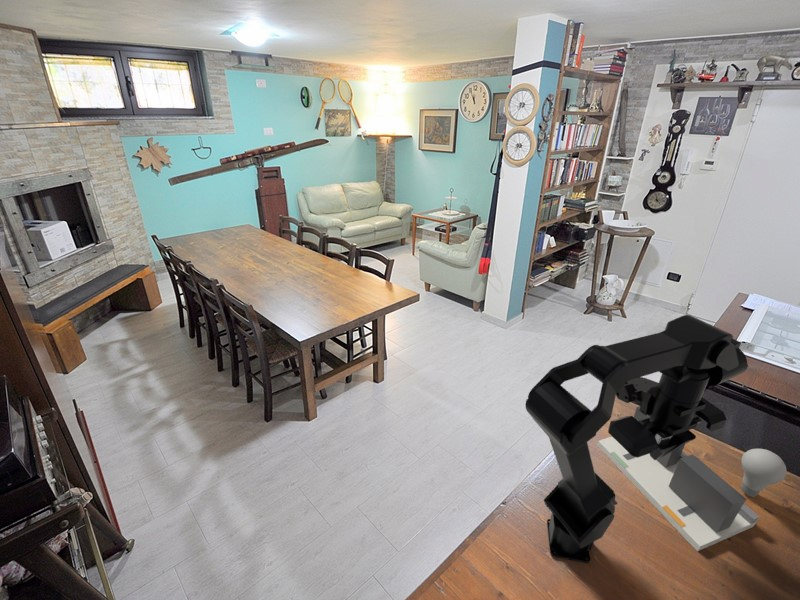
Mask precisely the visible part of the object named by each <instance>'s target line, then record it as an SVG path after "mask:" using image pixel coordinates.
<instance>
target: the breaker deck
mask: <svg viewBox="0 0 800 600" xmlns="http://www.w3.org/2000/svg"><path fill="white" fill-rule="evenodd" d="M596 446H597V447H598V449H600V451H602V453H603V454H604V455H605V456H606V457H607V458H608V459H609V460H610V461H611V462H612V463H613V464H614V465H615V466H616V468H618V469H619V471H621V473H623V475H624V476H625V477H626V478H627V479H628V480H629V481H630V483H632V485H634V486H635V488H637V490H638V491H640V492H641V494H642V495H643V496H644V497H645V498H646V499H647V500H648V501H649V503H651V504H652V506H654V508H656V510H658V512H659V513H660V514H661V515H662V516H663V517H664V518H665V519H666V520H667V521H668V523H670V524H671V525H672V526H673V528H675V529H676V531H677V532H678V533H679V534H680V535H681V536H682V537H683V538H684V539H685V541H687V542H688V544H690V545H691V547H692V548H693V549H694V550H696V552H699V551H701V550H704V549H706V548H709V547H711V546H713V545H715V544H718V543H719V542H722V541H724V540H727V539H729V538H731V537H733V536H736V535H738V534H740V533H742V532H744V531H746V530H749V529H751V528H754V526H755V525H756V524H757V522H758V520H759V519H760V516H759V514H757V513H756V512H755V511H753V510H752V509H751V508H750V507H749V506H748V505H747V504H745V503H744V504H743V506H742V507H741V509H740V511H739V512H738V514H737V516H736V517H735V519H734V521H733V523H732V524H731V526H730V527H729V528H727V529H725V530H722V531H720V532H718V533H716V532H715V531H714V530H713V529H712V528H711V527H710V526H709V525H708V524H707V523H706V522H705V521H704V520H703V519H702V518H701V517H700V516H699V515H698V514H697V513H696V512H695V511H694V510H693V509H692V508H691V507H690V506H688V505H687V504H686V503H685V502H684V501H683V500H682V499H681V498H680V497H679V496H678V495H677V494H676V493H675V492H674V491H673V490H672V489H671V488H670V487H669V484H670V481H671V479H672V477H673V474H674V472H675V470H676V467H677V465H678V463H679V460H680V458H683V457H686V456H689V454H687V453H686V452H684V451H682V453H681V455H680V458H679V460H678V462H677V464H674V465H671V466H669V467H666V468H665V467H664V466H663V465H662V464H661V463H660V462H659V461H658V460H654V459H653V458H652V457H651V456H650V453H649V454H646V455H644V456H641V457H638V458H637V457H634V456H632V455H631V454H630V453H629V452H628V451H627V450H626V449H625V448H624V447H623V446H621V445H620V444H619V443H618V442H617V441H616V440H615V439H614V438H613V437H612V436H608V437H606V438H603V439H600V440H597V445H596Z"/></svg>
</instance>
